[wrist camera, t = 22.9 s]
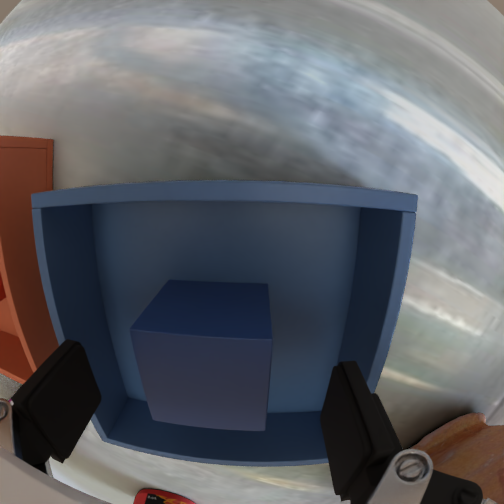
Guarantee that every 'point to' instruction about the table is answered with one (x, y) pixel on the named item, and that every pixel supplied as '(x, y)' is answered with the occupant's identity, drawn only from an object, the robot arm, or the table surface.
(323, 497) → the table surface
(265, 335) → the blue block
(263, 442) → the blue bin
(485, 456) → the jug
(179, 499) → the canned food
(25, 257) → the rust bin
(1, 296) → the red block
